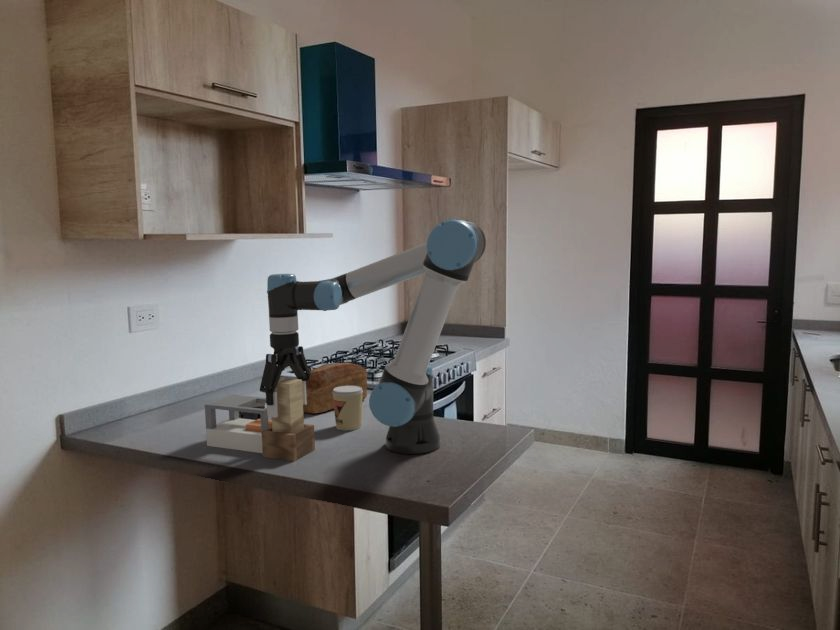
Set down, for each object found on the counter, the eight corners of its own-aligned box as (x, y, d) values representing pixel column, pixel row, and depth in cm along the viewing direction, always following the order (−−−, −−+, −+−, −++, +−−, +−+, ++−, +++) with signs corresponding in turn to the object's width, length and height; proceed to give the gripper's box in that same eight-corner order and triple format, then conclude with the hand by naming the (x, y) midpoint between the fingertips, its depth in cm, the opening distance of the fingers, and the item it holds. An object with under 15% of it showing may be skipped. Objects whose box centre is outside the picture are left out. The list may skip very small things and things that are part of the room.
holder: (315, 449, 182) (314, 425, 181) (294, 461, 173) (293, 435, 172) (284, 445, 186) (283, 421, 185) (262, 457, 177) (261, 431, 176)
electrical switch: (264, 423, 209) (263, 395, 207) (268, 429, 204) (267, 401, 202) (234, 427, 205) (233, 399, 203) (236, 434, 200) (235, 404, 199)
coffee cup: (329, 425, 206) (327, 387, 204) (357, 421, 210) (356, 384, 208) (339, 433, 197) (338, 393, 196) (368, 428, 202) (367, 389, 200)
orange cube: (277, 441, 189) (276, 420, 188) (264, 448, 183) (263, 426, 183) (259, 439, 191) (258, 418, 191) (246, 445, 186) (245, 424, 185)
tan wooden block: (304, 451, 181) (301, 379, 179) (292, 458, 176) (289, 384, 173) (286, 448, 184) (283, 378, 181) (273, 455, 178) (270, 382, 176)
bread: (373, 400, 237) (372, 360, 235) (314, 417, 215) (313, 374, 213) (349, 395, 244) (348, 357, 243) (290, 412, 223) (288, 370, 221)
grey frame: (290, 440, 191) (288, 400, 189) (265, 453, 180) (263, 410, 178) (234, 433, 199) (232, 394, 197) (207, 445, 188) (204, 404, 186)
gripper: (298, 325, 189) (301, 398, 191) (242, 338, 166) (247, 421, 168) (321, 326, 186) (324, 400, 188) (267, 339, 163) (271, 423, 165)
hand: (287, 410), depth 178 cm, fingers open, 13 cm apart
